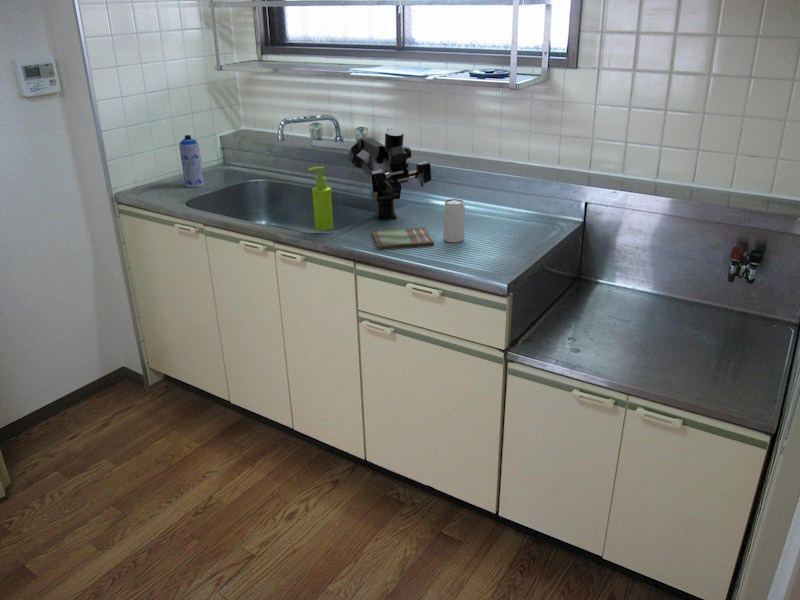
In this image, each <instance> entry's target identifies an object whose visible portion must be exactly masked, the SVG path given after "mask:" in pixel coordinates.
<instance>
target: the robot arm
mask: <svg viewBox="0 0 800 600" xmlns="http://www.w3.org/2000/svg"><path fill="white" fill-rule="evenodd" d="M404 134H405V133H404V131H403V130H400V129H395V128H387V129H386V131H385V135H384V137H385V138H384V144H383V143H381V142H379V141H377V140H376V139H374V137H369V136H368V137H360V138H358V140H357V142H356V143H355V144H354V145H353V146H351V147H350V150H349V152H348V160H349V163H350V164H351V165H352V166H353V167H354V168H356V169H357V168H358V169H361V170H363V172H364V173H365V174H366V175H367V177H368V178H369V179H370V180H369V181H370V187H371V192H370V194H371V199H372V200H373V201H374V202H376V203H377V212H375V216H376V215H378V216H376V218H377V220H390V219H391V220H392V219H397V218H398V216H397V214H396V212H395V200H400V199H401V193H402V183H407V182H409V181H410V180H414V179H417V182H418V185H419V186H420V187H421V188H423V187H424V185H425V184H426V183H429V182H430V181H432V171H431V169H432V168H431V163H430V162H429V161H428V160H424V161H419V162H416V163H415V168H416V169H415V170H411V171H409V169H408V168H409V162H408V161H407V160H408V159H411V158H412V149H411V147H409V146H406V145H405V146H404V136H405V135H404ZM381 164H383V166H384V170H383V169H382V168H381V167H380V166H379V165H381Z"/></svg>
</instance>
